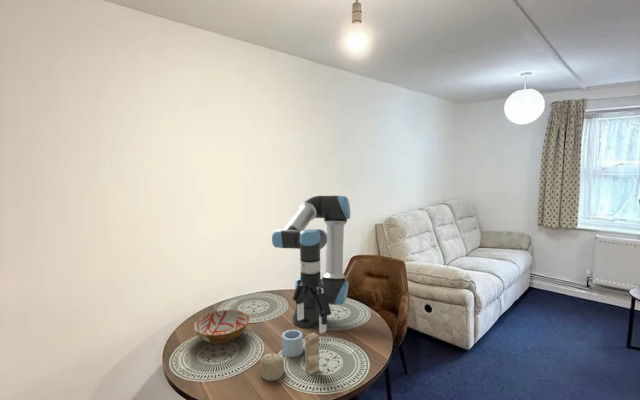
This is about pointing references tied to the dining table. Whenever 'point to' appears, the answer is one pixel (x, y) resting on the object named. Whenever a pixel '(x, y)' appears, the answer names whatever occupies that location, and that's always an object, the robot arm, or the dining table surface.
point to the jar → (292, 343)
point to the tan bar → (311, 353)
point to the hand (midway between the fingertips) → (311, 325)
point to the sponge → (271, 367)
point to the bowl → (221, 326)
